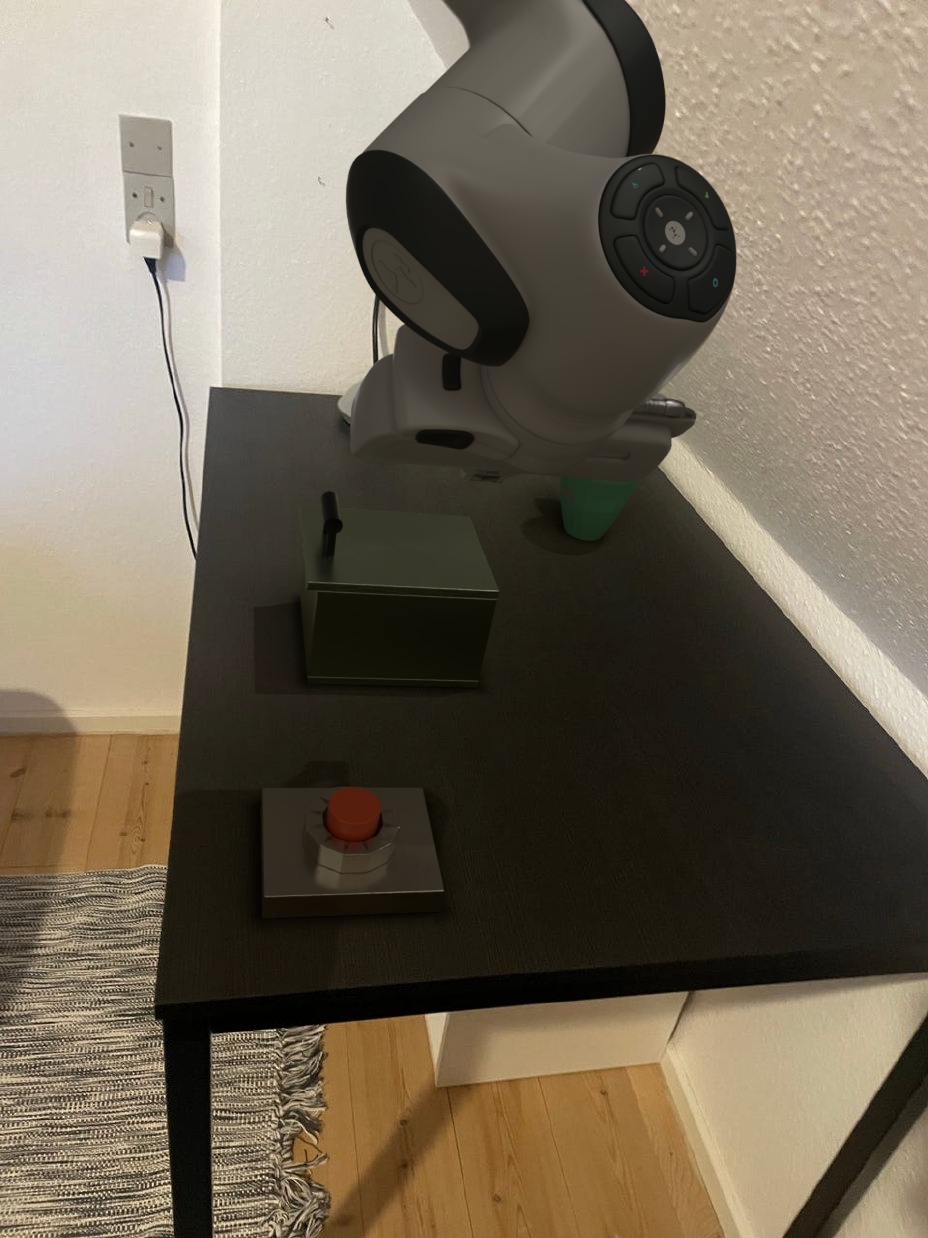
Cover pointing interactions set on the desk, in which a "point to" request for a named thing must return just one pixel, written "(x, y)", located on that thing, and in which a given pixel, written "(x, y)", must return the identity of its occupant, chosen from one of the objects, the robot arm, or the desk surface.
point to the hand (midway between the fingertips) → (480, 471)
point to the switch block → (346, 857)
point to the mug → (592, 505)
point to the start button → (353, 814)
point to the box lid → (392, 552)
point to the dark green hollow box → (394, 638)
